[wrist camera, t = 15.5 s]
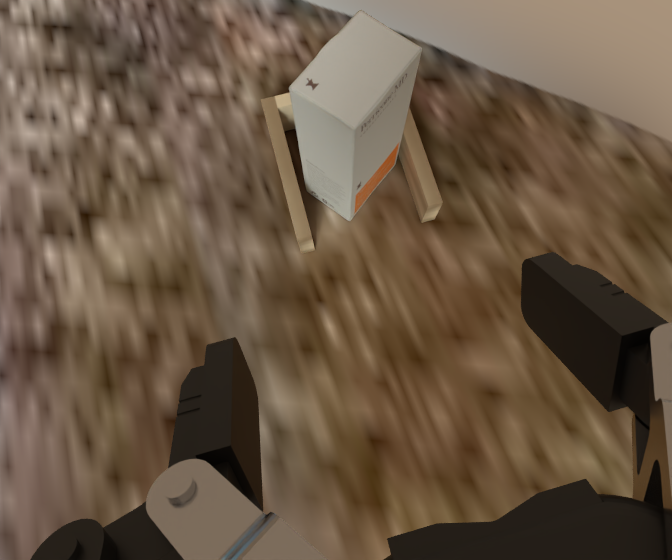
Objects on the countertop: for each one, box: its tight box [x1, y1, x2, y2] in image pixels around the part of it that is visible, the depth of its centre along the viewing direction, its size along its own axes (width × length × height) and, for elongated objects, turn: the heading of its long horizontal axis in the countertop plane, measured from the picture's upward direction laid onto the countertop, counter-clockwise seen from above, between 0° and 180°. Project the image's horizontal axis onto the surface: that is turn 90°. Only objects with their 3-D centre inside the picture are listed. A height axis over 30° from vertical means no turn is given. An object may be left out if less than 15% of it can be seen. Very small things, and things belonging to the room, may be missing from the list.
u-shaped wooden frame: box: [261, 93, 443, 254], centre depth 33 cm, size 10×11×3 cm
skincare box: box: [289, 10, 422, 221], centre depth 28 cm, size 6×4×12 cm
